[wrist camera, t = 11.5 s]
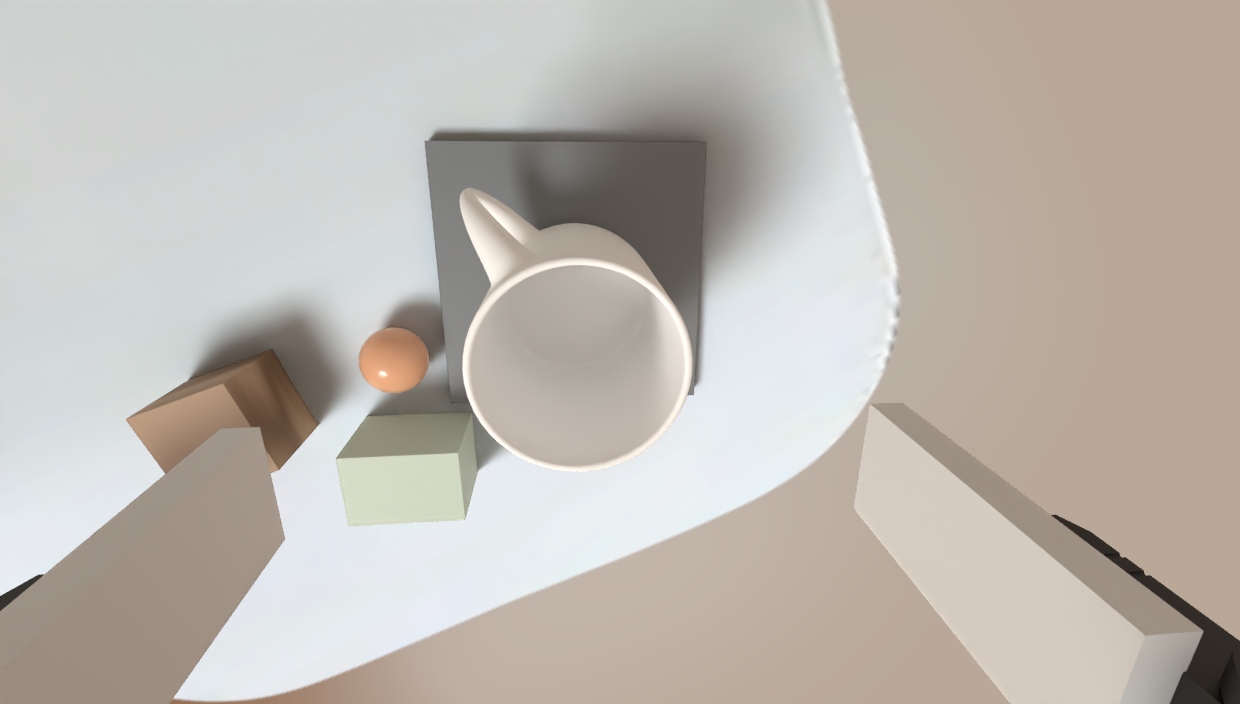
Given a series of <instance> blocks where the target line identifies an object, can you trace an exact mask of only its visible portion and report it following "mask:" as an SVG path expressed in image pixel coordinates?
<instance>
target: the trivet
mask: <svg viewBox="0 0 1240 704" xmlns="http://www.w3.org/2000/svg"><path fill="white" fill-rule="evenodd" d="M425 149H426V159H427V169H428V179H429V189H430V199H431V209H432V219H433V229H434V239H435V249H436V259H437V269H438V279H439V289H440V299H441V308H442V318H443V328H444V338H445V348H446V358H447V368H448V378H449V388H450V398H451V403H466V402H469V399H468V397H467V393H466V389H465V385H464V379H463V371H462V366H463V351H464V345H465V340H466V337H467V334H468V331H469V327H470V325H471V323H472V321H473V319H474V317H475V315H476V313H477V311H478V310H479V308H480V306H481V304H482V302H483V300H484V298H485V296H486V294H487V292H488V290H489V288H490V286H491V282H490V280H489V277H488V275H487V273H486V271H485V269H484V266H483V264H482V262H481V260H480V258H479V256H478V254H477V252H476V250H475V248H474V245H473V243H472V241H471V239H470V236H469V234H468V231H467V229H466V226H465V223H464V220H463V217H462V213H461V209H460V194H461V192H462V191H463V190H464V189H466V188H474V189H477V190H480V191H482V192H485V193H487V194H488V195H490V196H492V197H494V198H495V199H497V200H499V201H500V202H502V203H503V204H505V205H506V206H508V207H509V208H511V209H512V210H513V211H515V212H516V213H517V214H518V215H520V216H521V217H522V218H524V219H525V220H526V221H527V222H529V223H530V224H531V225H532V226H534V227H535V228H536V229H538V230H539V231H540V230H542V229H545V228H548V227H551V226H555V225H560V224H565V223H582V224H589V225H594V226H598V227H601V228H603V229H606V230H609V231H610V232H612V233H614V234H616V235H618V236H619V237H621V238H622V239H623V240H625V241H626V242H627V243H629V244H630V245H631V246H632V247H633V248H634V249H635V250H636V251H637V253H638V254H639V255H640V256H641V258H642V259H643V260H644V261H645V263H646V264H647V266H648V267H649V269H650V270H651V271H652V273H653V274H654V276H655V277H656V279H657V280H658V282H659V283H660V284H661V286H662V287H663V289H664V290H665V292H666V293H667V294H668V296H669V297H670V299H671V300H672V302H673V303H674V305H675V306H676V308H677V310H678V311H679V313H680V315H681V316H682V318H683V321H684V323H685V326H686V328H687V330H688V334H689V338H690V342H691V347H692V356H693V368H692V377H691V384H690V388H689V391H688V394H687V395H694V382H695V362H696V342H697V322H698V302H699V282H700V262H701V242H702V222H703V202H704V182H705V162H706V142H570V141H425Z"/></svg>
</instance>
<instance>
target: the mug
mask: <svg viewBox="0 0 1240 704" xmlns="http://www.w3.org/2000/svg"><path fill="white" fill-rule="evenodd" d="M460 209H461V213H462V217H463V220H464V223H465V226H466V229H467V231H468V234H469V236H470V239H471V241H472V243H473V245H474V248H475V250H476V252H477V254H478V256H479V258H480V260H481V262H482V264H483V266H484V269H485V271H486V273H487V275H488V277H489V280H490V282H491V286H490V288H489V290H488V292H487V294H486V296H485V298H484V300H483V302H482V304H481V306H480V308H479V310H478V311H477V313H476V315H475V317H474V319H473V321H472V323H471V325H470V327H469V331H468V334H467V337H466V340H465V345H464V351H463V366H462V371H463V379H464V385H465V389H466V393H467V397H468V399H469V402H470V404H471V406H472V409H473V411H474V413H475V414H476V416H477V418H478V419H479V421H480V423H481V424H482V425H483V427H484V428H485V429H486V430H487V432H488V433H489V434H490V435H491V436H492V437H493V438H494V439H495V440H496V441H497V442H498V443H499V444H500V445H502V446H503V447H504V448H506V449H507V450H508V451H510V452H511V453H513V454H515V455H516V456H518V457H520V458H522V459H524V460H526V461H528V462H531V463H533V464H535V465H539V466H542V467H546V468H549V469H555V470H561V471H575V472H579V471H593V470H598V469H604V468H608V467H611V466H614V465H617V464H620V463H622V462H625V461H627V460H629V459H632V458H633V457H635V456H637V455H638V454H640V453H642V452H644V451H645V450H646V449H648V448H649V447H650V446H652V445H653V444H654V443H655V442H656V441H657V440H658V439H659V438H660V437H662V436H663V435H664V434H665V432H666V431H667V430H668V429H669V427H670V426H671V425H672V424H673V422H674V421H675V419H676V418H677V416H678V414H679V413H680V411H681V409H682V407H683V405H684V402H685V400H686V398H687V394H688V391H689V388H690V384H691V377H692V368H693V356H692V347H691V342H690V338H689V334H688V330H687V328H686V326H685V323H684V321H683V318H682V316H681V315H680V313H679V311H678V310H677V308H676V306H675V305H674V303H673V302H672V300H671V299H670V297H669V296H668V294H667V293H666V292H665V290H664V289H663V287H662V286H661V284H660V283H659V282H658V280H657V279H656V277H655V276H654V274H653V273H652V271H651V270H650V269H649V267H648V266H647V264H646V263H645V261H644V260H643V259H642V258H641V256H640V255H639V254H638V253H637V251H636V250H635V249H634V248H633V247H632V246H631V245H630V244H629V243H627V242H626V241H625V240H623V239H622V238H621V237H619V236H618V235H616V234H614V233H612V232H610V231H609V230H606V229H603V228H601V227H598V226H594V225H589V224H582V223H565V224H560V225H555V226H551V227H548V228H545V229H542V230H540V231H539V230H538V229H536V228H535V227H534V226H532V225H531V224H530V223H529V222H527V221H526V220H525V219H524V218H522V217H521V216H520V215H518V214H517V213H516V212H515V211H513V210H512V209H511V208H509V207H508V206H506V205H505V204H503V203H502V202H500V201H499V200H497V199H495V198H494V197H492V196H490V195H488V194H487V193H485V192H482V191H480V190H477V189H474V188H466V189H464V190H463V191H462V192H461V194H460Z"/></svg>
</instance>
